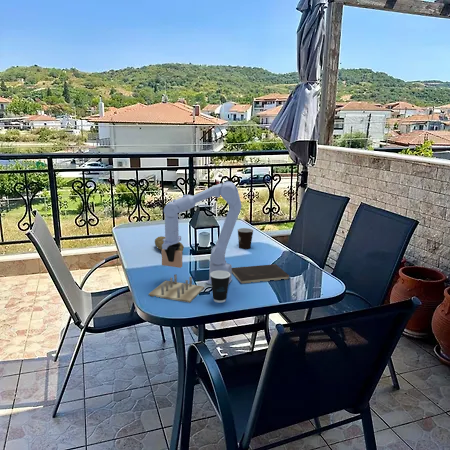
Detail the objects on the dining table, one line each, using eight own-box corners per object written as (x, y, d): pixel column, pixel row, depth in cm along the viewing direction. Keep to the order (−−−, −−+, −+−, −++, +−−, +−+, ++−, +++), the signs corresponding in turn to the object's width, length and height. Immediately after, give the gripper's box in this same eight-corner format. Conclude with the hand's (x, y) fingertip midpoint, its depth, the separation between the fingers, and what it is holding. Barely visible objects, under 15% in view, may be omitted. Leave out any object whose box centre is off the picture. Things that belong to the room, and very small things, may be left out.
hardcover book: (289, 280, 185) (289, 275, 185) (240, 285, 179) (241, 280, 178) (275, 268, 200) (275, 263, 199) (230, 272, 194) (230, 267, 193)
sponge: (152, 249, 227) (160, 252, 208) (154, 235, 227) (162, 237, 208) (175, 251, 232) (185, 255, 213) (177, 237, 232) (186, 240, 213)
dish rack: (204, 288, 173) (204, 277, 172) (189, 302, 159) (189, 291, 158) (165, 282, 179) (165, 271, 177) (148, 295, 165) (148, 284, 164)
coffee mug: (252, 250, 225) (253, 232, 222) (237, 249, 225) (237, 232, 223) (251, 243, 236) (252, 226, 234) (236, 243, 236) (237, 226, 234)
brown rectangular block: (182, 266, 178) (182, 251, 176) (180, 267, 177) (180, 252, 175) (163, 263, 181) (163, 248, 179) (161, 265, 179) (161, 249, 178)
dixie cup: (219, 294, 168) (219, 268, 165) (233, 300, 163) (234, 274, 160) (205, 300, 162) (205, 273, 159) (220, 306, 157) (220, 279, 154)
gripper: (170, 225, 183) (171, 254, 186) (155, 233, 169) (155, 264, 173) (185, 227, 180) (185, 256, 184) (170, 235, 167) (171, 266, 171)
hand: (172, 260), depth 178 cm, fingers closed on brown rectangular block, 2 cm apart
